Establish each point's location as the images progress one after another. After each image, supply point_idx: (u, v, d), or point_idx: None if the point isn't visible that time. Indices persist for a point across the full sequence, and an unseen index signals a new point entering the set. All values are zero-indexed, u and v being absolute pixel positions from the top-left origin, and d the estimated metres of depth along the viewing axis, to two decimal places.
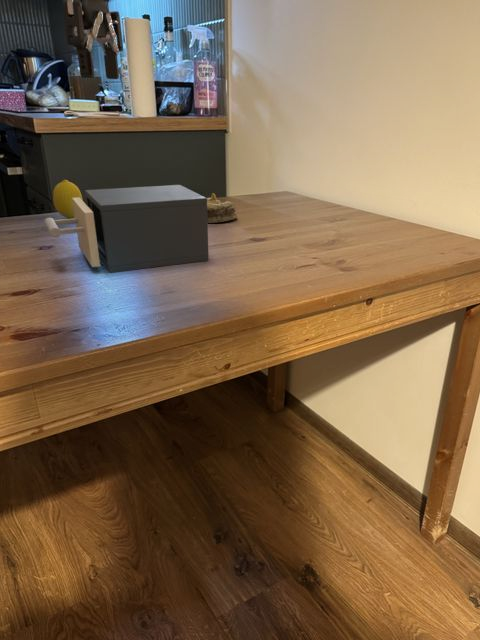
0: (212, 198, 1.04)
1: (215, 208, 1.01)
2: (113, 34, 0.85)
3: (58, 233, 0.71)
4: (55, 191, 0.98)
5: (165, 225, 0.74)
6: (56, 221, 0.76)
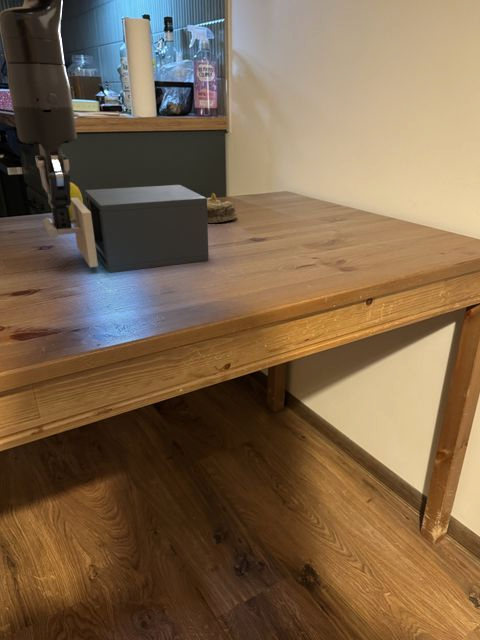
0: (212, 198, 1.04)
1: (215, 208, 1.01)
2: None
3: (56, 233, 0.71)
4: None
5: (165, 225, 0.74)
6: None
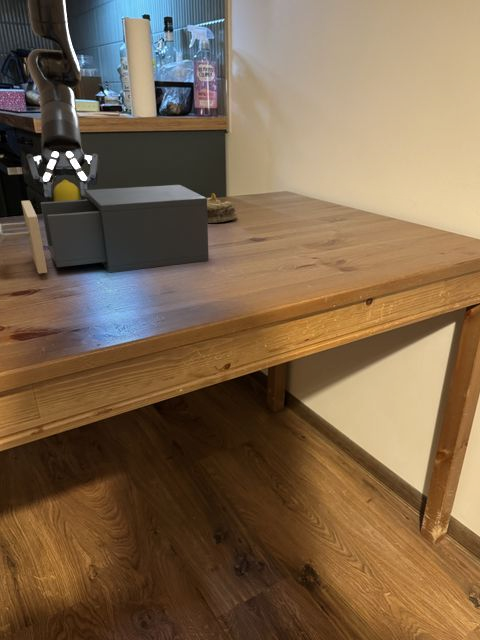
0: (212, 198, 1.04)
1: (215, 208, 1.01)
2: None
3: (1, 238, 0.68)
4: (55, 191, 0.98)
5: (165, 225, 0.74)
6: (3, 225, 0.73)
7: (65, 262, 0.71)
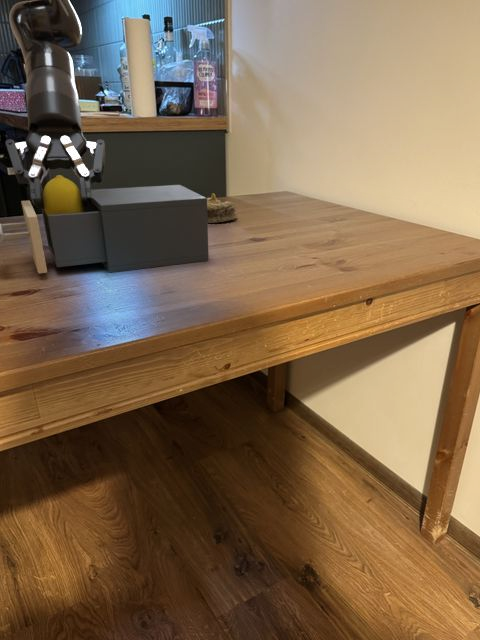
0: (212, 198, 1.04)
1: (215, 208, 1.01)
2: None
3: (1, 238, 0.68)
4: (45, 191, 0.70)
5: (165, 225, 0.74)
6: (3, 225, 0.73)
7: (65, 262, 0.71)
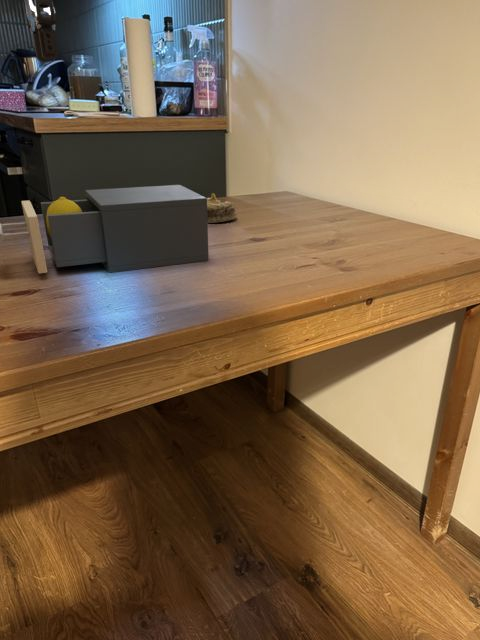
0: (212, 198, 1.04)
1: (215, 208, 1.01)
2: None
3: (1, 238, 0.68)
4: (49, 213, 0.72)
5: (165, 225, 0.74)
6: (3, 225, 0.73)
7: (65, 262, 0.71)
